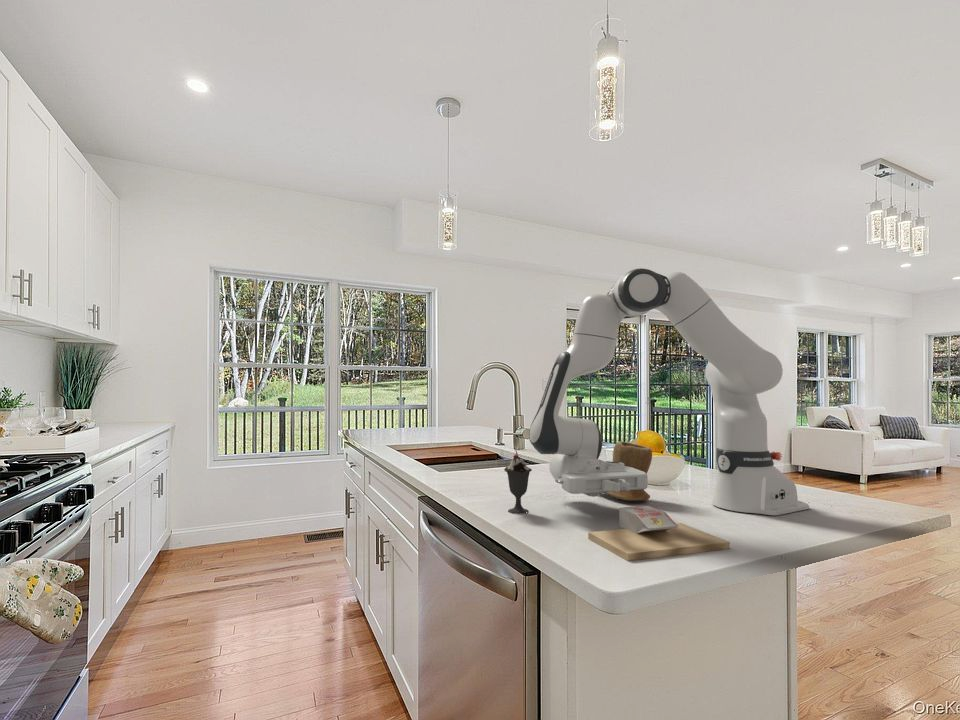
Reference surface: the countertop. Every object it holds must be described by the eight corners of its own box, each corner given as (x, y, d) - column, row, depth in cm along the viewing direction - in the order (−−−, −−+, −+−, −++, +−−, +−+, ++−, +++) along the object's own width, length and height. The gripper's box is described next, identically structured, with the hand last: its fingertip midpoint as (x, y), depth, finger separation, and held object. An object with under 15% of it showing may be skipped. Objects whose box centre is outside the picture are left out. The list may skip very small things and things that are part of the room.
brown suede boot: (662, 502, 134) (661, 443, 135) (624, 506, 130) (623, 445, 130) (626, 490, 148) (625, 438, 149) (590, 493, 144) (590, 439, 145)
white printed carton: (647, 523, 109) (679, 536, 100) (619, 525, 107) (649, 539, 98) (647, 505, 109) (678, 517, 100) (619, 507, 107) (648, 519, 98)
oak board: (681, 529, 109) (680, 523, 109) (730, 548, 96) (729, 541, 96) (588, 538, 102) (588, 532, 102) (627, 560, 89) (627, 553, 90)
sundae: (513, 506, 129) (513, 446, 129) (537, 510, 125) (537, 448, 125) (498, 512, 123) (498, 448, 124) (523, 516, 119) (522, 450, 120)
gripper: (551, 465, 122) (581, 475, 109) (626, 461, 128) (662, 470, 115) (551, 492, 121) (581, 506, 108) (626, 487, 128) (663, 499, 115)
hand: (624, 487), depth 112 cm, fingers closed
